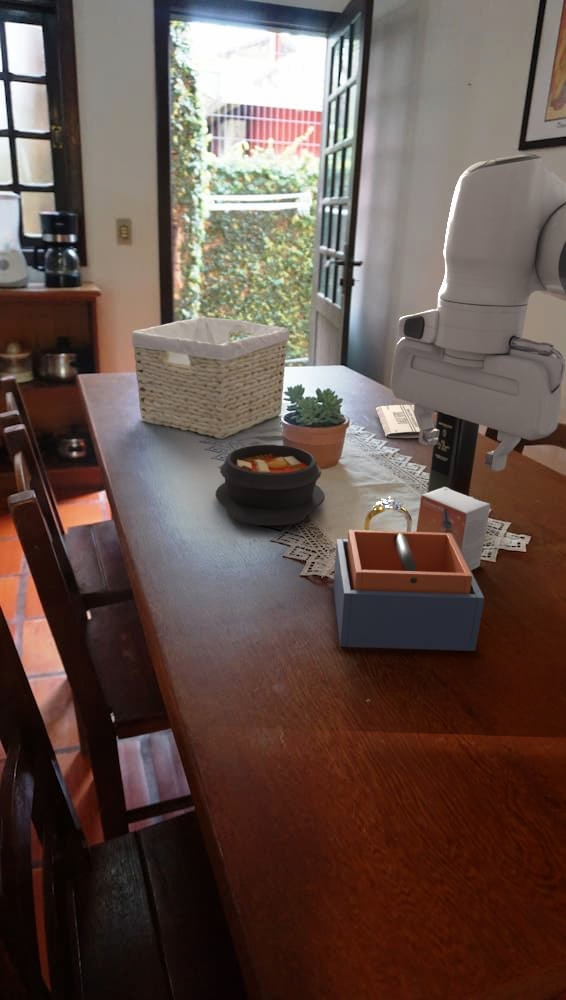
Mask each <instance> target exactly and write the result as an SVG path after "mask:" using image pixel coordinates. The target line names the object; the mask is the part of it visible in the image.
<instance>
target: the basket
mask: <svg viewBox="0 0 566 1000" xmlns="http://www.w3.org/2000/svg"><path fill="white" fill-rule="evenodd" d="M232 334H234V335H236V336H239V335H245V336H247V337H243V338H238V339H235V340H232V341H231V336H232ZM289 338H290V330H289V329H288V328H286V327H284V326H275V325H268V324H261V323H256V322H253V321H245V320H243V319H234V318H219V317H207V316H206V315H203V316H196V317H194V318H190V319H183V320H177V321H173V322H170V323H169V322H168V323H165V324H161V325H156V326H151V327H147V328H141V329H135V330H133V331H132V333H131V344H132V347H133V352H134V361H135V369H136V370H135V374H136V381H137V389H138V390H137V392H138V403H139V404H138V405H139V406H138V407H139V412H140V418H141V420H142V422H145V423H149V424H153V425H155V424H156V425H159V426H164V427H172V428H175V429H180V430H182V431H191V432H194V433H196V432H197V433H198V434H199V435H207V436H209V437H214V438H215V439H219V440H223V439H225V438H228V437H229V436H233V435H235V434H237V433H239V432H240V431H243V430H248V429H250V428H252V427H253V426H254V425H258V424H261V423H263V422H265V421H266V420H270V419H273V418H276V417H277V416H280V415H281V414H282V406H283V392H284V379H285V378H284V377H285V366H286V365H285V364H286V355H287V345H288V340H289Z"/></svg>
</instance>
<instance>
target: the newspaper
mask: <svg viewBox="0 0 566 1000" xmlns="http://www.w3.org/2000/svg"><path fill="white" fill-rule="evenodd" d="M414 406H415V404H393V405H380V406H377V407H376V408H375V411H376V414H377V416H378V419H379V422H380V424H381V427H382V430H383V432H384V435H385V437H386V438H398V439H419V433H420V429H419V427H418V424H417V421H416V418H415V415H414Z"/></svg>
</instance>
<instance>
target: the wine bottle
mask: <svg viewBox="0 0 566 1000" xmlns="http://www.w3.org/2000/svg"><path fill="white" fill-rule="evenodd" d="M434 427H435V429H438V430H440V432H439V436H438V443H437V444H436V445H432V451H431V452H432V453H431V460H430V467H429V476H428V482H427V484H428V485H427V492H426V493H428V492H431V491H434V490H437V489H440V488H443V487H447V488H449V489H451V490H453V491H456V492H458V493H461V494H463V495H466V496H469V497H470V489H471V485H472V484H471V483H472V476H473V470H474V463H475V457H476V449H477V442H478V436H479V431H480V430H479V429H480V424H476V423H473V422H470V421H467V420H464V419H461V418H458V417H454V416H451V415H448V414H445V413H442V412H439V411H436V419H435V425H434Z"/></svg>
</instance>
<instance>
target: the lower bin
mask: <svg viewBox="0 0 566 1000" xmlns="http://www.w3.org/2000/svg"><path fill="white" fill-rule="evenodd" d="M347 543H348V538H336V542H335V557H334V573H333V586H332V587H333V596H334V605H335V611H336V612H335V613H336V620H337V621H336V622H337V630H338V631H337V632H338V640H339V646H340V647H342V648H343V647H345V648H347V647H348V648H375V649H376V648H378V649H379V648H380V649H408V650H409V649H410V650H411V649H412V650H439V651H441V650H442V651H471V652H472V651H473V652H475V651H476V649H477V644H478V638H479V631H480V627H481V620H482V615H483V614H482V613H483V608H484V603H485V596H484V594H483V592H482V590H481V588H480V586H479V584H478V582H477V580H476V578H475V576H474V574H473V572H472V570H470V568H469V566H468V564H467V562H466V560H465V558H464V556H463V554H462V552H461V550H460V548H459V546H458V544H457V543H456V544H457V546H458V548H459V550H460V552H461V554H462V556H463V558H464V560H465V562H466V564H467V566H468V568H469V570H470V572H471V574H472V582H471V588H470V594H451V593H421V592H390V591H359V590H351V589H350V582H349V576H348V570H347V563H346V556H347Z"/></svg>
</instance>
